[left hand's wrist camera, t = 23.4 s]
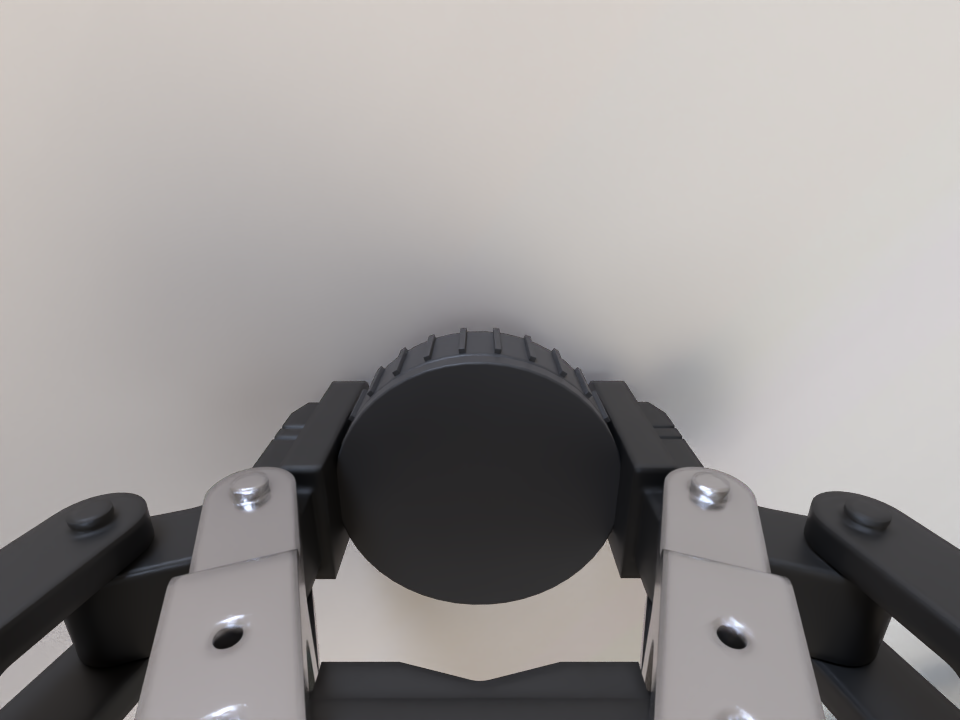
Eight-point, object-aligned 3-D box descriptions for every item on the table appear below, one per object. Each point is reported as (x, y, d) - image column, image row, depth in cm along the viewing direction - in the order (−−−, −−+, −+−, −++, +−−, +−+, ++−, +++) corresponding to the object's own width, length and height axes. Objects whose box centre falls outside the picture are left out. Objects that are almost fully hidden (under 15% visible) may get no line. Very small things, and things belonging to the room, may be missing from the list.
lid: (306, 376, 10) (275, 416, 9) (566, 287, 9) (583, 313, 8) (409, 574, 12) (399, 635, 10) (633, 510, 11) (657, 566, 10)
